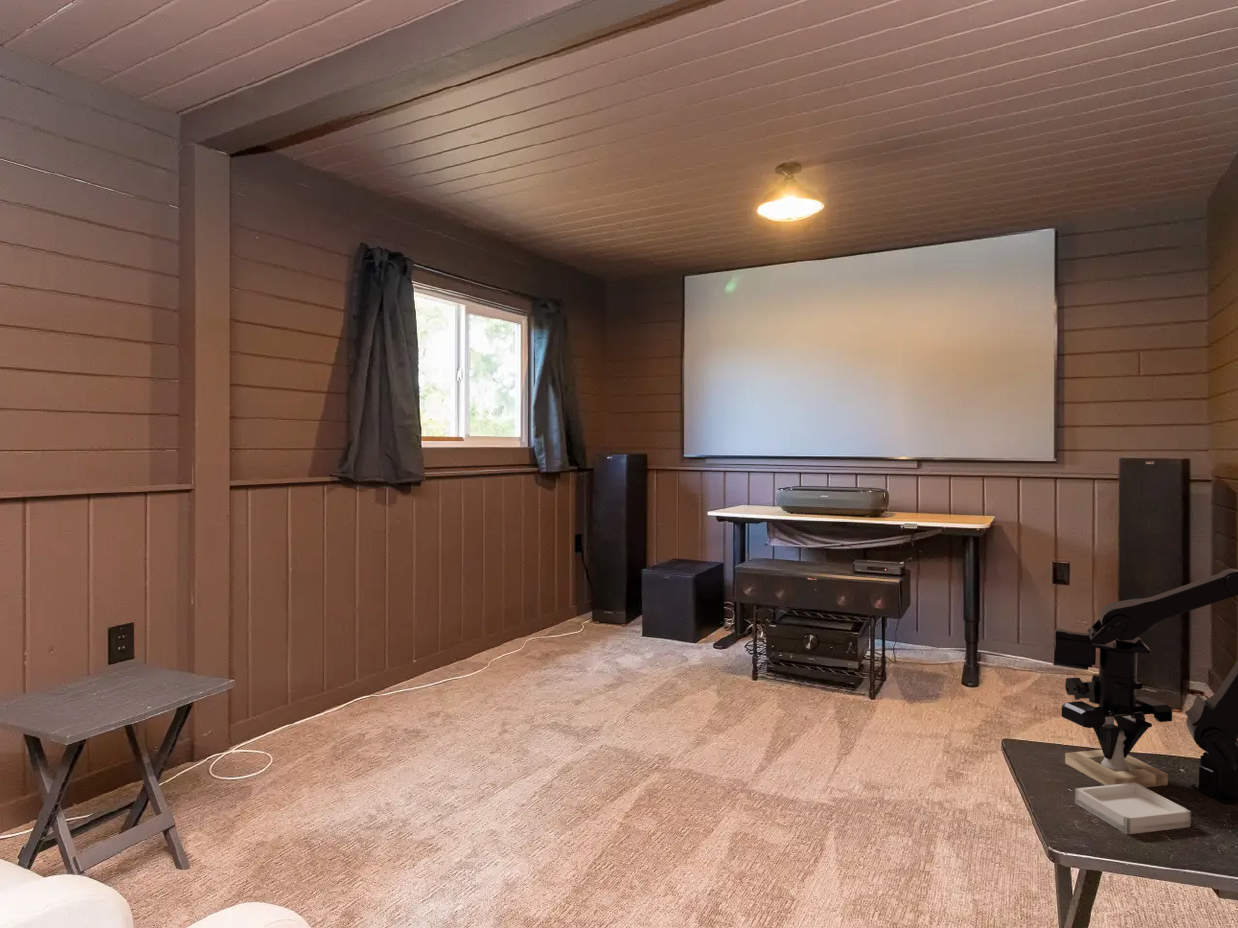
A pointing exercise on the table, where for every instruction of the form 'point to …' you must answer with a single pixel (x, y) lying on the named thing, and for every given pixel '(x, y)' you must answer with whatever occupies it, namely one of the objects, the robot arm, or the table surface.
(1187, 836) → the table surface
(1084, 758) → the socket block
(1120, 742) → the rook chess piece
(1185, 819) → the tray
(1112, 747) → the robot arm
